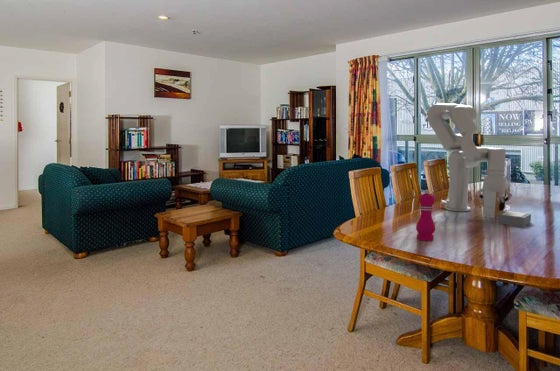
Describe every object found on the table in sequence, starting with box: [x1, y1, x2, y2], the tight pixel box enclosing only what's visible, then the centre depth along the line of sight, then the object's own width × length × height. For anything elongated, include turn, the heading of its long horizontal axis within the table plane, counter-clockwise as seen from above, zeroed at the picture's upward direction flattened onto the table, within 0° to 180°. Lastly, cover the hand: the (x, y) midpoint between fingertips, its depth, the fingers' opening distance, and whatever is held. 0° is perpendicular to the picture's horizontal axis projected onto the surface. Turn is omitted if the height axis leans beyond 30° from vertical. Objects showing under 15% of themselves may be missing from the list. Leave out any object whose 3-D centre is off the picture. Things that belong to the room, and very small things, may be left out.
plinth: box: [496, 210, 532, 228], centre depth 198 cm, size 11×11×4 cm
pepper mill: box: [415, 189, 436, 242], centre depth 170 cm, size 7×7×20 cm
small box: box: [482, 191, 506, 219], centre depth 211 cm, size 8×6×13 cm
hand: (493, 209), depth 211 cm, fingers closed on small box, 7 cm apart
